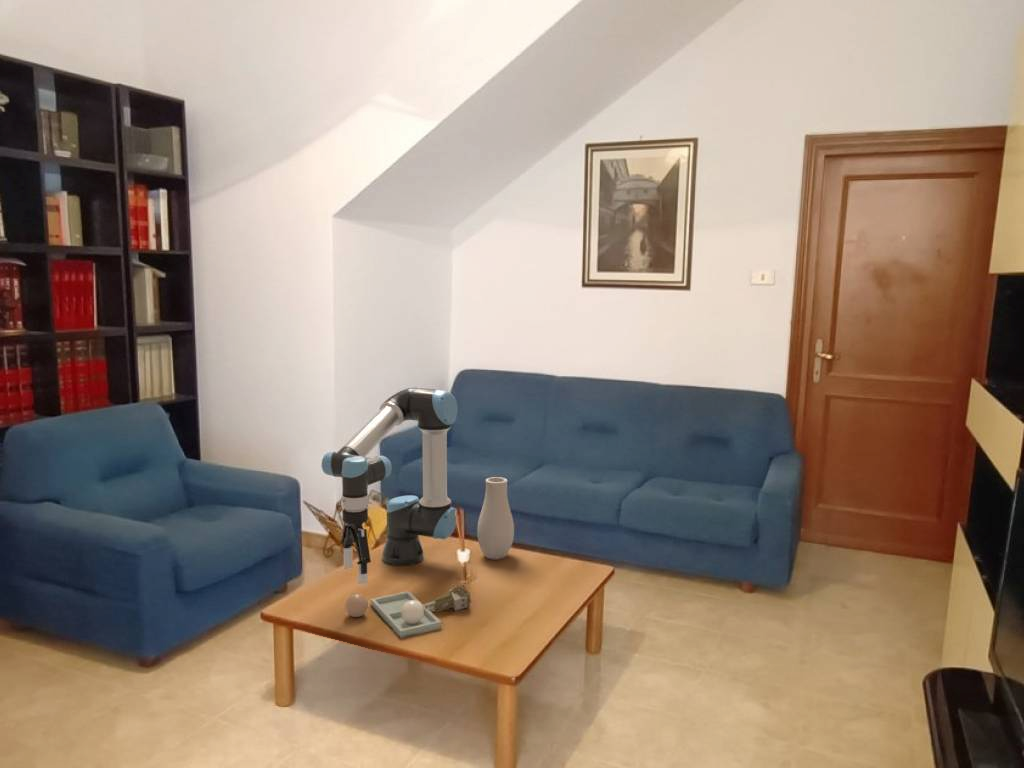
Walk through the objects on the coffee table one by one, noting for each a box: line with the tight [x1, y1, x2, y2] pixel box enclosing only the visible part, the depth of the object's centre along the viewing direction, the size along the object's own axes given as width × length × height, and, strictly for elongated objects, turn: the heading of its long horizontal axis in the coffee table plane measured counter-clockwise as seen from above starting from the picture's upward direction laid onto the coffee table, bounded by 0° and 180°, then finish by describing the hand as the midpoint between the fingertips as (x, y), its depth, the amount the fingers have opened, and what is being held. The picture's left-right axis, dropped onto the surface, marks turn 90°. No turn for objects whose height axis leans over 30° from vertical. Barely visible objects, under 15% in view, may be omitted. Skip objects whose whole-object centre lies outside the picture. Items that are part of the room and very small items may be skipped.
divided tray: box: [370, 591, 442, 639], centre depth 239 cm, size 13×25×2 cm, turn 30°
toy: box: [424, 584, 472, 613], centre depth 244 cm, size 7×7×15 cm
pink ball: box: [344, 593, 369, 618], centre depth 238 cm, size 7×7×7 cm
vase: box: [476, 476, 515, 561], centre depth 287 cm, size 14×14×30 cm
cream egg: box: [401, 600, 424, 624], centre depth 233 cm, size 7×7×7 cm
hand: (355, 575), depth 236 cm, fingers open, 13 cm apart
